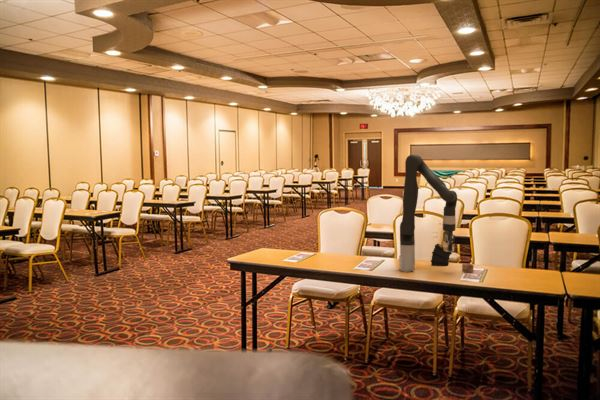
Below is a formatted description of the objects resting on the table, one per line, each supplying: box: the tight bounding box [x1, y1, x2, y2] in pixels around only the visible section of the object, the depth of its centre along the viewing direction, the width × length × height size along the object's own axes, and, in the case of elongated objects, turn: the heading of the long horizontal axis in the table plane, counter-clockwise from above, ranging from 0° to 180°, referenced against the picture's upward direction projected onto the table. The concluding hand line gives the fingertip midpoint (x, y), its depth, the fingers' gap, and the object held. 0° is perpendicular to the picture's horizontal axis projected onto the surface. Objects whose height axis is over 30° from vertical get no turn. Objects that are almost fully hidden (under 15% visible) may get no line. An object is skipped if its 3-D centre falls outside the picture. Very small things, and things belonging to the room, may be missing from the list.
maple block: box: [442, 241, 455, 253], centre depth 299 cm, size 5×5×5 cm
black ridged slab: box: [430, 243, 453, 267], centre depth 326 cm, size 4×13×15 cm, turn 54°
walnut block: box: [461, 263, 474, 274], centre depth 301 cm, size 5×5×5 cm
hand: (448, 249), depth 299 cm, fingers closed on maple block, 5 cm apart
